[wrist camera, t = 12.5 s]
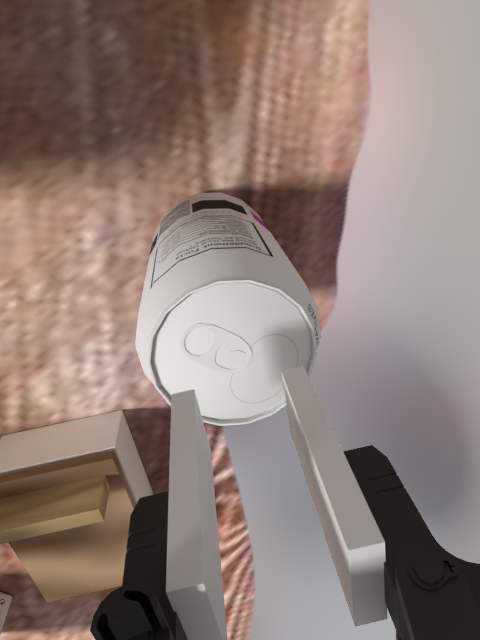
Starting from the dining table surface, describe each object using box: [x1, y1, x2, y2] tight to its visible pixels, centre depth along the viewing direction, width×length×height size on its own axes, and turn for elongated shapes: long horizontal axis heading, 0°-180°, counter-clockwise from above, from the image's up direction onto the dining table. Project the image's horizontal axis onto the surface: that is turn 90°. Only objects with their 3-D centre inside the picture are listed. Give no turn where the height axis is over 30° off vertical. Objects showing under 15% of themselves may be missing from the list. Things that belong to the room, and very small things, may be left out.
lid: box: [0, 451, 136, 603], centre depth 34 cm, size 14×10×4 cm
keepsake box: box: [0, 410, 154, 504], centre depth 38 cm, size 14×10×4 cm
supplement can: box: [135, 193, 321, 426], centre depth 25 cm, size 8×8×15 cm
